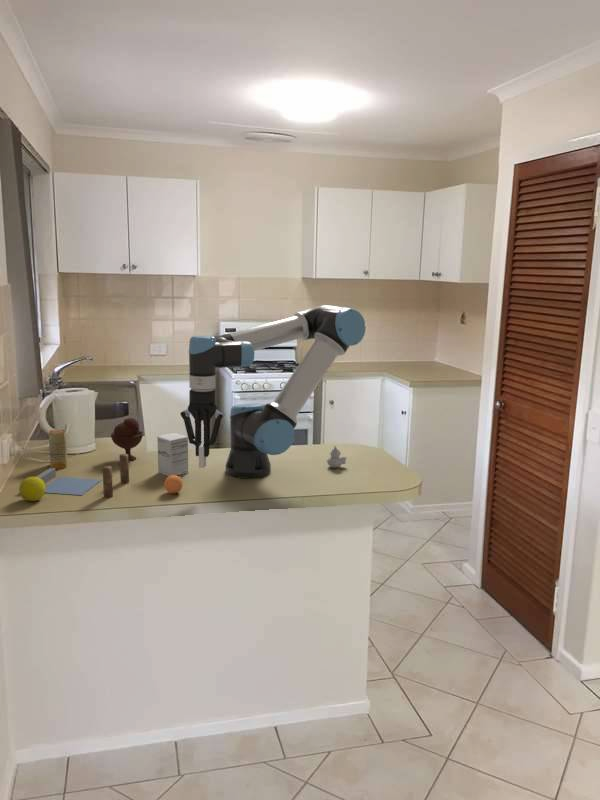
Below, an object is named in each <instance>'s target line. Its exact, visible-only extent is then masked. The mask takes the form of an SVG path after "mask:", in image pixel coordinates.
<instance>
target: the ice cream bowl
mask: <svg viewBox="0 0 600 800" xmlns="http://www.w3.org/2000/svg"><path fill="white" fill-rule="evenodd" d="M143 436H144V431H141V430H140V424H139V422H138V420H137V419H135V418H133V417H129V418H125V419H124V421H123V422H120V423H118V424H117V425H116V426H115V427H114V430H113V432H111V434H110V438H111V441H112V442H113V443H114V445H116V446H117V447H120V448H121V449H123V450H124V452H125V454H128V461H132V462H135V461H136V460H137V457H136V456H135V455H133V454H131V450H132V449H133V448H136V447H137V446H138V445H139V444H140V443H141V442H142V439H143ZM134 460H135V461H134Z"/></svg>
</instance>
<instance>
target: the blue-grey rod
mask: <svg viewBox="0 0 600 800" xmlns="http://www.w3.org/2000/svg"><path fill="white" fill-rule="evenodd" d="M56 471H57V470H56V468H55V469H52V468H51V467H50V468H48V469H46V470H44V471H43V472H41V473H39V474H37V476H35V477H38V478H40V479H42V480H43V482H44V483H45V484H47V482H49V481H50V480H52V479H53V478H55V477H57V473H56Z"/></svg>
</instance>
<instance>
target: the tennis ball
mask: <svg viewBox="0 0 600 800" xmlns="http://www.w3.org/2000/svg"><path fill="white" fill-rule="evenodd" d="M19 484H20V485H19V489H18V491H19V495H20V496H21V498H22V499H23V500H25V501H27V502H35V501H39V500H40V499H41V498H43V497H44V495H45V494H46V493H45V489H46V488H45V487H46V483H44V482H43V480H42V479H40V478H38V477H36V476H29V477H27V478H26V477H25V479H23V480H22V481H21V482H20V483H19Z"/></svg>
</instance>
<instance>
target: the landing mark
mask: <svg viewBox="0 0 600 800" xmlns="http://www.w3.org/2000/svg"><path fill="white" fill-rule="evenodd" d="M101 481H103V478H102V479H100V478H98V479H96V478H85V477H84V478H83V477H70V476H68V477H67V476H60V477H58V478H57V479H55V480H53V481H51V482H50V483H49V484H47V485H45V488H46V489H45V493H44V494H52V493H57V494H56V495H67V494H72V495H71V496H84V494H86V493H87V492H88V491H90V490H91V489H92V488H93V487H95V486H96V485H97V484H99V483H101ZM85 492H86V493H85Z"/></svg>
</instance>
